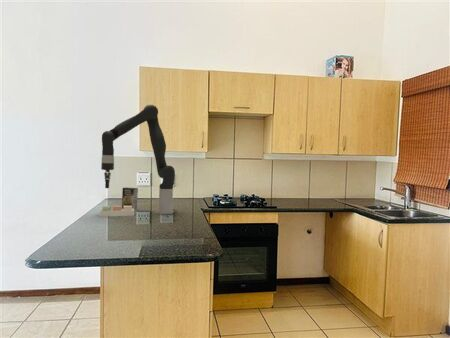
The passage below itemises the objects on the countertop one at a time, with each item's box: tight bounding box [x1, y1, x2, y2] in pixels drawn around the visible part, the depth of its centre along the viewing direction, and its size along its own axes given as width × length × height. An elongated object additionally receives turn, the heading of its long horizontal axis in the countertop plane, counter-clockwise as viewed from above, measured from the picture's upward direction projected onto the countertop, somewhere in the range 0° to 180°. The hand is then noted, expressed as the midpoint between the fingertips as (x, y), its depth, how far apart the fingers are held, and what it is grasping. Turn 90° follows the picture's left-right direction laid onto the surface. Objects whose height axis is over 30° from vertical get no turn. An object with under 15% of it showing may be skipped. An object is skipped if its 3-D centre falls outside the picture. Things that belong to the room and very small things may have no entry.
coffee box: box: [121, 187, 139, 212], centre depth 227 cm, size 9×6×16 cm
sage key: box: [101, 205, 112, 211], centre depth 205 cm, size 5×5×3 cm
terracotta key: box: [112, 205, 122, 211], centre depth 207 cm, size 5×5×3 cm
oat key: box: [123, 206, 132, 210], centre depth 209 cm, size 5×5×3 cm
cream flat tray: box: [99, 208, 135, 218], centre depth 207 cm, size 21×8×4 cm, turn 109°
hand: (107, 187), depth 204 cm, fingers open, 8 cm apart
